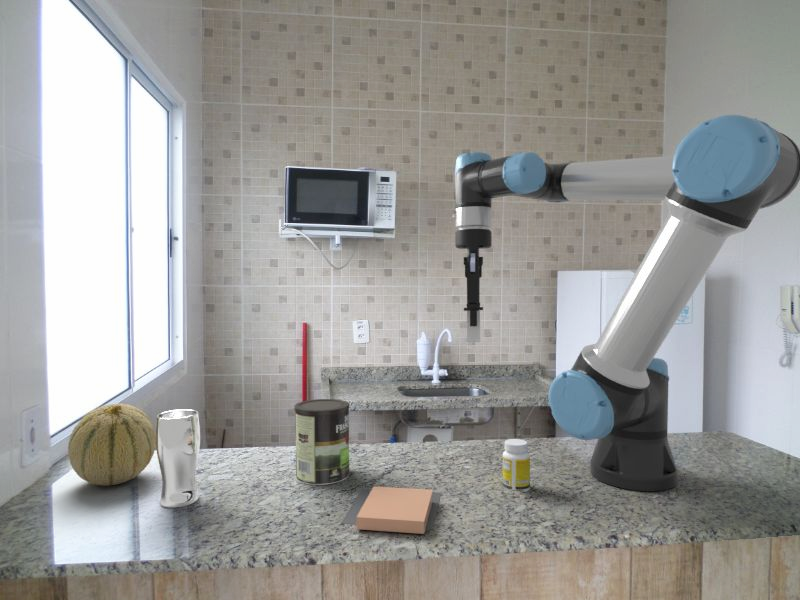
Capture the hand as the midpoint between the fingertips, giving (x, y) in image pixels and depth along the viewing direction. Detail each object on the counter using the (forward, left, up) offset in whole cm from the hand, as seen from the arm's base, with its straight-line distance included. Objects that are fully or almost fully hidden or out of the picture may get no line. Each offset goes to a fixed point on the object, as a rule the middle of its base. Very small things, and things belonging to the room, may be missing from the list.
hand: (473, 341), depth 114 cm
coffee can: (+28, +17, -25) cm, 41 cm away
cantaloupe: (+66, +25, -25) cm, 75 cm away
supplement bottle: (-8, +17, -25) cm, 31 cm away
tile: (+11, +27, -23) cm, 37 cm away
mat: (+12, +30, -24) cm, 40 cm away
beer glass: (+49, +31, -25) cm, 63 cm away
